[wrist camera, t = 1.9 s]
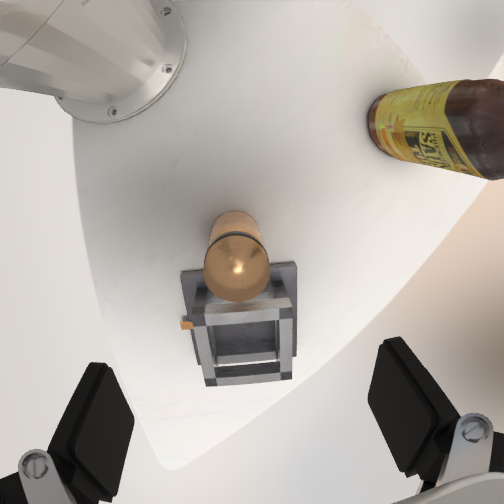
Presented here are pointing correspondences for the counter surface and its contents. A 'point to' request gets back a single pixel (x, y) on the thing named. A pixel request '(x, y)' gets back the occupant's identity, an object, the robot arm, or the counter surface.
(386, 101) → the sauce bottle
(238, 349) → the collar stand
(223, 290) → the copper tube
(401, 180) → the counter surface
